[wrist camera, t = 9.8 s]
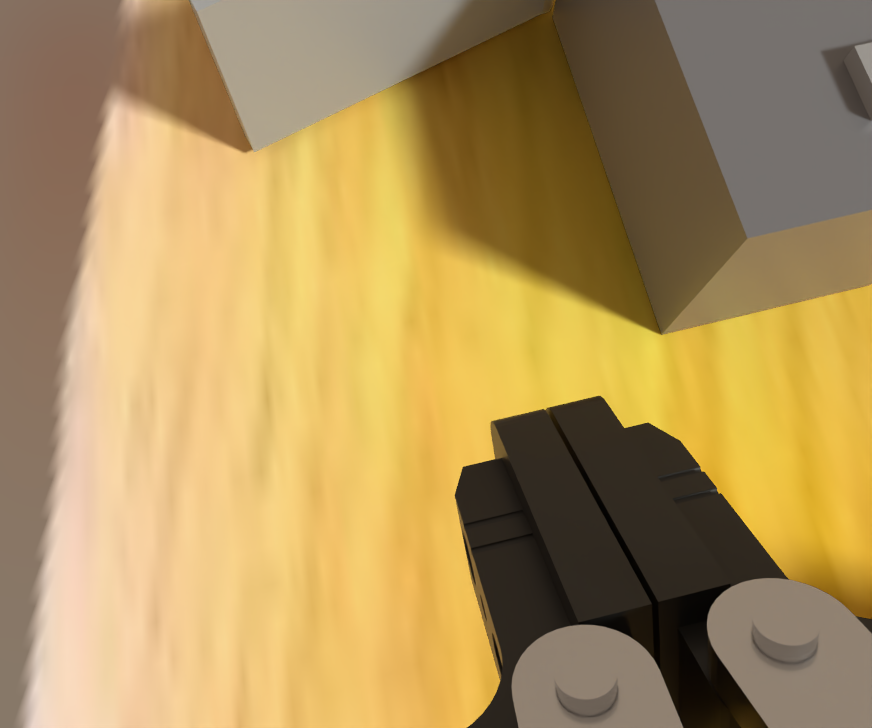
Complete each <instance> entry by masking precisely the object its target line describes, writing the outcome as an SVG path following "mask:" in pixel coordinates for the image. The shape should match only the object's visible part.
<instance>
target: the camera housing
mask: <svg viewBox="0 0 872 728" xmlns="http://www.w3.org/2000/svg"><path fill="white" fill-rule="evenodd" d="M552 17H553V20H554V23H555V26H556V29H557V32H558V35H559V38H560V41H561V44H562V47H563V49H564V52H565V55H566V58H567V61H568V64H569V67H570V70H571V73H572V76H573V79H574V81H575V84H576V87H577V90H578V93H579V96H580V99H581V102H582V105H583V108H584V111H585V113H586V116H587V119H588V122H589V125H590V128H591V131H592V134H593V137H594V140H595V143H596V145H597V148H598V151H599V154H600V157H601V160H602V163H603V166H604V169H605V172H606V175H607V177H608V180H609V183H610V186H611V189H612V192H613V195H614V198H615V201H616V204H617V207H618V209H619V212H620V215H621V218H622V221H623V224H624V227H625V230H626V233H627V236H628V239H629V241H630V244H631V247H632V250H633V253H634V256H635V259H636V262H637V265H638V268H639V271H640V273H641V276H642V279H643V282H644V285H645V288H646V291H647V294H648V297H649V300H650V303H651V305H652V308H653V311H654V314H655V317H656V320H657V323H658V326H659V329H660V332H661V335H663V334H667V333H671V332H675V331H679V330H684V329H688V328H692V327H696V326H700V325H704V324H709V323H713V322H717V321H721V320H725V319H730V318H734V317H738V316H742V315H746V314H751V313H755V312H759V311H763V310H767V309H771V308H776V307H780V306H784V305H788V304H792V303H797V302H801V301H805V300H809V299H813V298H818V297H822V296H826V295H830V294H834V293H838V292H843V291H847V290H851V289H855V288H859V287H864V286H868V285H870V284H872V0H556V2H555V7H554V11H553V16H552Z"/></svg>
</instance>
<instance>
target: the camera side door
mask: <svg viewBox="0 0 872 728" xmlns="http://www.w3.org/2000/svg"><path fill="white" fill-rule="evenodd" d="M553 1H554V0H189V2H190V4H191V6H192V9H193V11H194V14H195V16H196V19H197V21H198V23H199V26H200V28H201V31H202V33H203V35H204V38H205V40H206V43H207V45H208V48H209V50H210V52H211V55H212V57H213V60H214V62H215V64H216V67H217V69H218V72H219V74H220V76H221V79H222V81H223V84H224V86H225V89H226V91H227V93H228V96H229V98H230V101H231V103H232V105H233V108H234V110H235V113H236V115H237V118H238V120H239V122H240V125H241V127H242V130H243V132H244V134H245V137H246V138H247V140H248V142H249V144H250V145H251V147H252V149H253V151H254V152H256V151H258V150H260V149H262V148H264V147H266V146H268V145H270V144H272V143H275V142H277V141H279V140H281V139H283V138H285V137H287V136H289V135H291V134H293V133H295V132H297V131H299V130H302V129H304V128H306V127H308V126H310V125H312V124H314V123H316V122H318V121H320V120H322V119H324V118H326V117H329V116H331V115H333V114H335V113H337V112H339V111H341V110H343V109H345V108H347V107H349V106H351V105H353V104H355V103H358V102H360V101H362V100H364V99H366V98H368V97H370V96H372V95H374V94H376V93H378V92H380V91H382V90H385V89H387V88H389V87H391V86H393V85H395V84H397V83H399V82H401V81H403V80H405V79H407V78H409V77H412V76H414V75H416V74H418V73H420V72H422V71H424V70H426V69H428V68H430V67H432V66H434V65H436V64H439V63H441V62H443V61H445V60H447V59H449V58H451V57H453V56H455V55H457V54H459V53H461V52H463V51H466V50H468V49H470V48H472V47H474V46H476V45H478V44H480V43H482V42H484V41H486V40H488V39H490V38H493V37H495V36H497V35H499V34H501V33H503V32H505V31H507V30H509V29H511V28H513V27H515V26H517V25H520V24H522V23H524V22H526V21H528V20H530V19H532V18H534V17H536V16H538V15H540V14H543V13H547V12H549V11H550V10H551V9H552V6H553Z"/></svg>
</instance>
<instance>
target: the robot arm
mask: <svg viewBox="0 0 872 728" xmlns="http://www.w3.org/2000/svg"><path fill="white" fill-rule="evenodd" d="M491 435H492V441H493V447H494V454H495V459H494V460H490V461H486V462H482V463H478V464H473V465H469V466H465V467H463V469H462V472H461V476H460V479H459V483H458V486H457V489H456V493H455V499H456V504H457V509H458V514H459V519H460V524H461V529H462V534H463V539H464V544H465V549H466V554H467V560H468V565H469V570H470V575H471V580H472V583H473V587H474V590H475V594H476V597H477V601H478V604H479V608H480V610H481V614H482V618H483V622H484V625H485V629H486V632H487V636H488V639H489V643H490V646H491V650H492V653H493V657H494V660H495V664H496V667H497V671H498V674H499V678H500V684H499V687H498V690H497V692H496V694H495V696H494V698H493V700H492V702H491V703H490V705H489V706H488V707H487V709H486V710H485V711H484V713H483V714H482V715H481V716H480V717H479V718H478V719H477V720H476V721H475V722H474V723H473V724H471V725H470V726H469V727H467V728H872V619H867V618H862V617H857V616H854V614H853V613H852V612H851V611H850V610H849V609H847V608H846V607H845V606H844V605H843V604H842V603H841V602H839V601H838V600H836V599H835V598H834V597H832V596H831V595H829V594H827V593H825V592H823V591H821V590H820V589H818V588H815V587H812V586H810V585H807V584H804V583H800V582H797V581H793V580H789V579H788V578H787V577H786V576H785V575H784V573H783V572H782V571H781V569H780V568H779V567H778V566H777V564H776V563H775V562H774V560H773V559H772V558H771V557H770V555H769V554H768V553H767V552H766V550H765V549H764V548H763V546H762V545H761V544H760V543H759V541H758V540H757V539H756V537H755V536H754V535H753V534H752V532H751V531H750V530H749V528H748V527H747V526H746V525H745V523H744V522H743V521H742V520H741V518H740V517H739V516H738V514H737V513H736V512H735V511H734V509H733V508H732V507H731V505H730V504H729V503H728V502H727V500H726V499H725V498H724V496H723V495H722V494H721V493H720V494H718V492H717V487H716V486H715V485H714V484H713V482H712V481H711V480H710V479H709V477H708V476H707V475H706V473H705V472H701V469H700V466H699V464H698V463H697V462H696V461H695V459H694V458H693V457H692V455H691V454H690V453H689V452H688V450H687V449H686V448H685V447H684V445H683V444H682V443H681V441H679V440H678V439H676V438H674V437H672V436H671V435H669V434H667V433H665V432H664V431H662V430H660V429H658V428H657V427H655V426H653V425H651V424H649V423H645V424H641V425H636V426H632V427H628V428H624V427H623V426H622V424H621V423H620V421H619V420H618V419H617V417H616V416H615V414H614V413H613V411H612V410H611V408H610V407H609V405H608V404H607V403H606V401H605V400H604V399H603V398H602V397H601V396H596V397H592V398H588V399H583V400H579V401H575V402H571V403H566V404H562V405H558V406H554V407H549V408H547V409H546V411H545V410H544V409H542V410H538V411H533V412H529V413H525V414H521V415H516V416H512V417H508V418H503V419H499V420H495V421H491Z"/></svg>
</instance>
